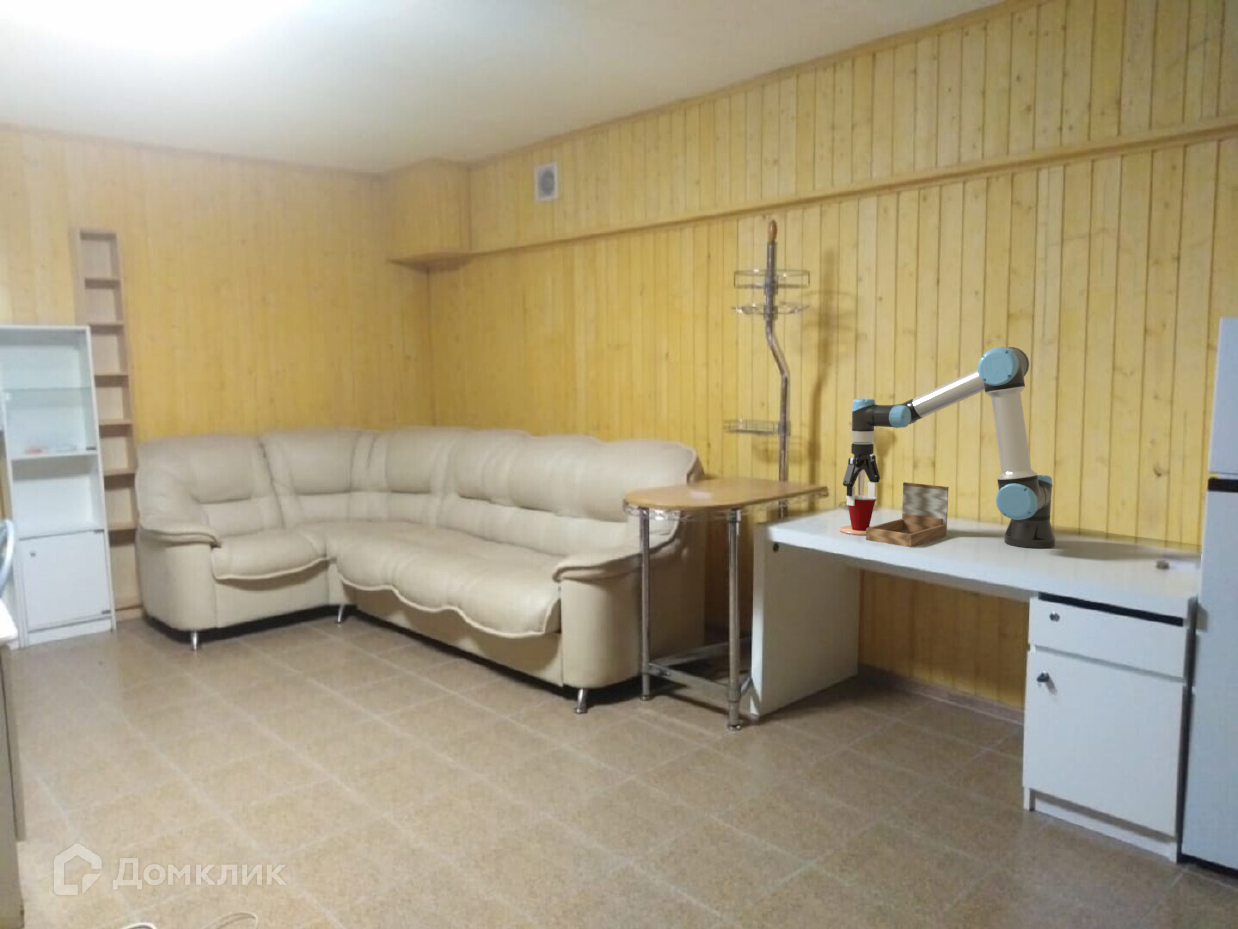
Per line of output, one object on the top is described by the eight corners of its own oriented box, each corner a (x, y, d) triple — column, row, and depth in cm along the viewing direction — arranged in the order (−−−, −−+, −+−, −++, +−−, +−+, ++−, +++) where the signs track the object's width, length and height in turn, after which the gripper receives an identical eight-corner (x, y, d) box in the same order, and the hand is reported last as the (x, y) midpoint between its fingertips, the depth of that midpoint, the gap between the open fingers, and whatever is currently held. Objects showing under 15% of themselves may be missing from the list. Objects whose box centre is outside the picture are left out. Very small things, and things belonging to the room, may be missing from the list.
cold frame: (946, 535, 303) (948, 487, 301) (910, 547, 287) (912, 495, 284) (903, 529, 315) (904, 482, 313) (866, 539, 299) (867, 490, 296)
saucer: (888, 531, 312) (888, 529, 312) (867, 537, 302) (867, 535, 302) (854, 526, 322) (854, 523, 322) (832, 531, 313) (832, 529, 312)
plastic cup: (882, 529, 312) (883, 495, 310) (866, 533, 304) (867, 499, 303) (854, 525, 320) (855, 492, 318) (838, 529, 312) (839, 496, 311)
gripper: (872, 439, 319) (870, 497, 322) (833, 444, 302) (831, 506, 305) (890, 440, 314) (889, 499, 317) (852, 446, 297) (850, 508, 300)
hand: (861, 502), depth 311 cm, fingers open, 13 cm apart
